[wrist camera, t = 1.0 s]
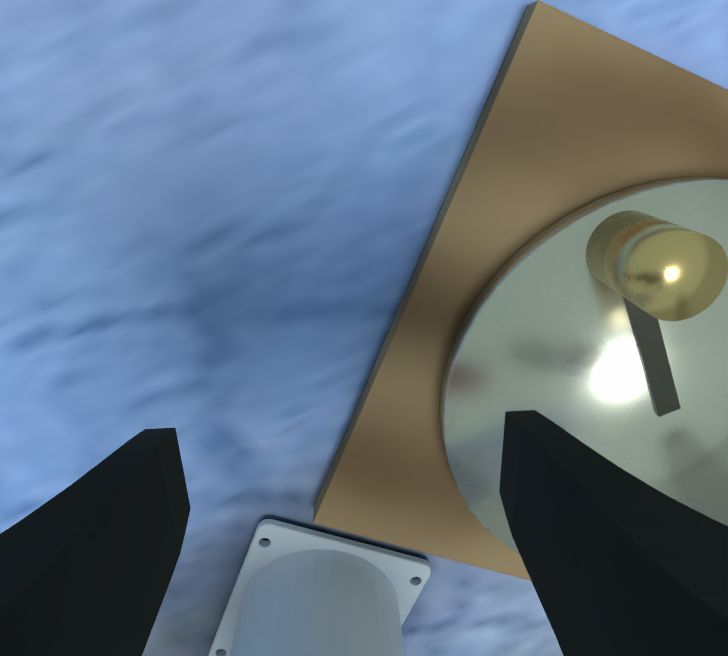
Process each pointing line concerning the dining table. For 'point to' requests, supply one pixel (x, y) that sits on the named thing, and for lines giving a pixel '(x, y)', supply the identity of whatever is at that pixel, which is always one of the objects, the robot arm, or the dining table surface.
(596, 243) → the capstan dial
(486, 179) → the dial base
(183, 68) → the dining table surface
